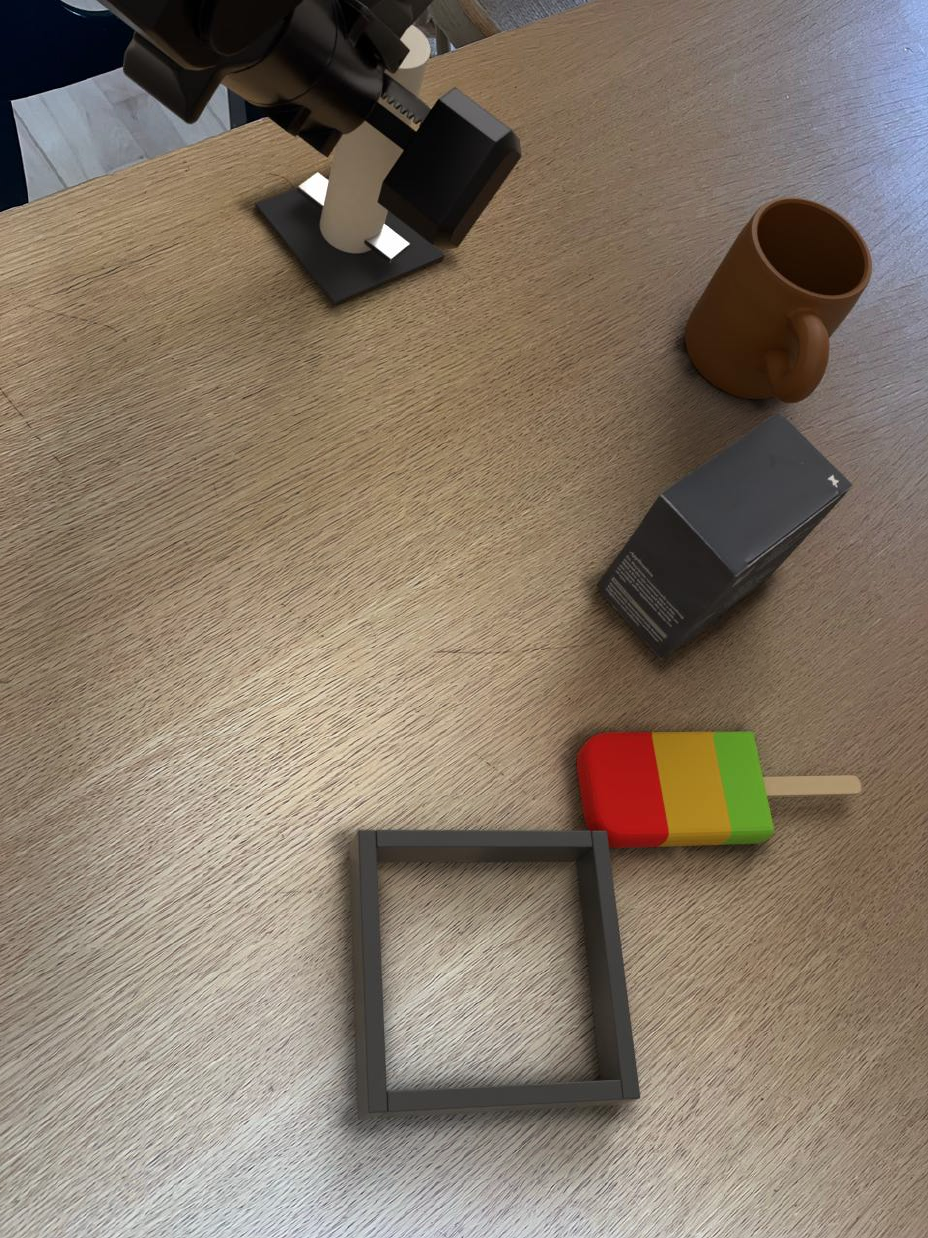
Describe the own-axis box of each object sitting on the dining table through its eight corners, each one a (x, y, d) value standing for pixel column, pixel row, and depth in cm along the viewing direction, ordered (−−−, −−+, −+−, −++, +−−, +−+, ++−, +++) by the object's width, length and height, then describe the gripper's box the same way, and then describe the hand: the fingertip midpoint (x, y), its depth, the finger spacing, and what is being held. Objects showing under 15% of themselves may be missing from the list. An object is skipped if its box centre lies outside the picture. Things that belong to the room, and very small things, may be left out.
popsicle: (569, 743, 62) (582, 728, 61) (837, 741, 66) (856, 727, 65) (585, 852, 60) (599, 840, 58) (862, 843, 64) (883, 832, 62)
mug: (806, 475, 74) (892, 378, 66) (685, 452, 72) (758, 350, 64) (790, 318, 80) (868, 210, 71) (677, 293, 78) (744, 180, 70)
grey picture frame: (357, 1119, 52) (368, 1113, 50) (348, 845, 57) (357, 829, 55) (620, 1105, 55) (641, 1098, 53) (589, 845, 60) (607, 830, 58)
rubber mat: (334, 305, 71) (334, 301, 71) (254, 206, 73) (255, 202, 72) (443, 258, 74) (444, 255, 74) (365, 165, 76) (366, 161, 76)
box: (703, 505, 71) (781, 405, 63) (771, 577, 70) (859, 486, 62) (590, 585, 67) (658, 490, 58) (661, 664, 66) (740, 578, 57)
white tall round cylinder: (415, 250, 74) (471, 68, 63) (377, 281, 72) (427, 99, 61) (324, 179, 74) (363, -14, 63) (284, 208, 73) (317, 15, 61)
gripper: (566, -12, 49) (614, 94, 64) (208, -277, 51) (336, -114, 66) (401, 229, 52) (485, 276, 67) (68, -31, 54) (221, 72, 69)
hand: (384, 123), depth 67 cm, fingers open, 9 cm apart
